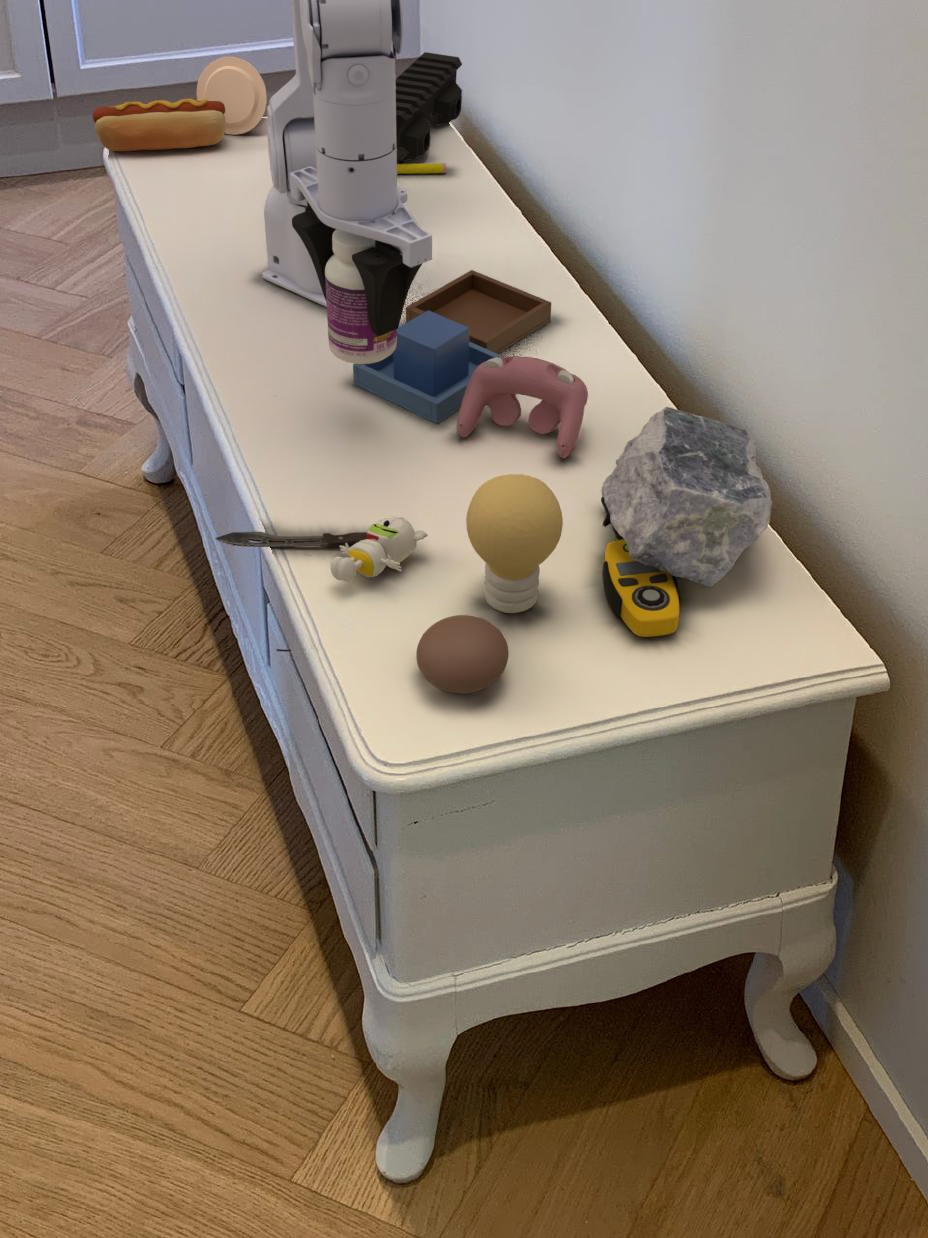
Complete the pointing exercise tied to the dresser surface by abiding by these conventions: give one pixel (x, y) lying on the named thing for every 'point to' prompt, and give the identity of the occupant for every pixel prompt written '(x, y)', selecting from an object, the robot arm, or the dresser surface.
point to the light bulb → (513, 537)
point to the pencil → (421, 168)
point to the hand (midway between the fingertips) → (362, 315)
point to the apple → (234, 92)
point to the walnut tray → (486, 310)
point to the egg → (462, 654)
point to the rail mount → (425, 100)
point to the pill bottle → (351, 305)
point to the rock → (688, 495)
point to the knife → (290, 539)
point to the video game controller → (531, 378)
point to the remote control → (639, 591)
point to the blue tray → (430, 407)
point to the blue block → (431, 353)
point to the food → (160, 125)
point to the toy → (377, 550)
